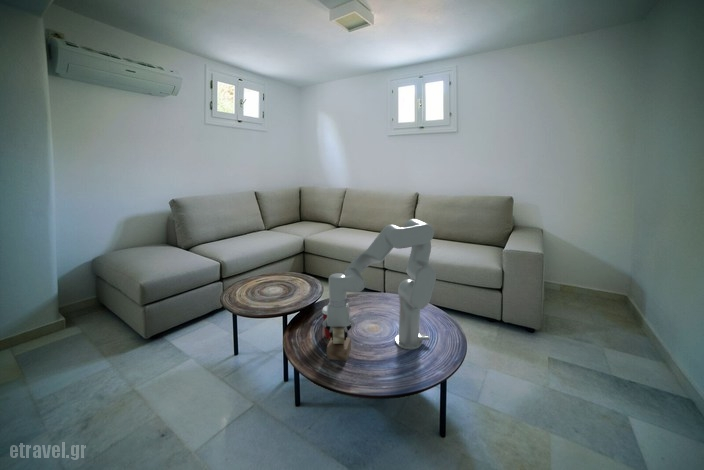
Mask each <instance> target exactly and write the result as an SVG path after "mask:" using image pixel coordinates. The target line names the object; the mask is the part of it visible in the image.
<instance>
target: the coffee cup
mask: <svg viewBox="0 0 704 470" xmlns="http://www.w3.org/2000/svg"><path fill="white" fill-rule="evenodd" d="M327 308H328V304H327V305H325V306H323V307H322V310H321V312H322V317H323V318H322V319H323V321H324V320H325V319H326V318H327ZM326 324H327V323H326ZM323 328H324V335H325V338H327V339H331V338H330V332H329V330H328V329H326V327H324V326H323Z"/></svg>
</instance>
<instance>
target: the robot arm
mask: <svg viewBox="0 0 704 470" xmlns="http://www.w3.org/2000/svg"><path fill="white" fill-rule="evenodd" d="M434 236H435V230H434V227H433V226H431V225H430V224H429V223H427V222H424V221H422V220H419V219H418V218H417V219H416V218H411V219H408V220H406V222H405V224H404V227H400V226H398V225H395V224H387V225H386V226H384V228H383V229H382V230H381V231H380V232H379V234H378V235H377V236H376V238H375V239H374V240H373V241H372V242H371V244H370V245H369V246H368V247H367V248H366V250H364V251H362V252H361V253H360V254H359V255H357V256H355V258H354V259H353V260H351V262H350V263H349V264H348V266H347V267H346V269H345V270H344V272H343V273H339V272H337V273H331V274H330V275H329V277H328V295H329V297H328V298H329V302H328V303H327V305H328V308H327V318H326V319H325V320H323V321H322V326H323V328H324V327H326V329H328V330H329V332H330V338H332V340H333V327H344V329H345V330H344V340H346V338H349V337H348V336H349V334H348V332H349V331H350V330H351V329H352V328H353V327H355V326H356V322H355V321H354V320H353V319H352V317H351V310H350V306H349V303H350V302H351V299H350V298H347V293H359V292H362V291H363V290H364V289H365V287H366V281H365V279H364V277H363V276H362V274H363V272H364V271H365V270H366V269H367V268H368V267H369V266H371V265H374V264H379V263H382V262H383V261H384V260H385V259H386V257H387V256H388V255H389V254H390V252H391V251H392V250H393V249H396V250H397V249H399V250H400V249H407V248H411V250H410V254H409V257H408V262H407V265H406V273H407V275H408V276H409V277H410V278H406V279H403V280H402V281H401V282H400V284H399V285H398V290H397V291H398V302H399V313H398V314H399V315H398V316H399V317H398V335H396V337H395V338H394V340H395V341H394V342H395V344H396V346H398V347H399V348H401V349H403V350H410V351H411V350H417V349H419V348H420V347H421V346H422V345H423V341H430V337H429V336H426V334H425V333H420V320H421V319H420V317H421V310H424V309H425V308H426V307H427V306H428V305H429V303H430V301H431V298H432V295H433V292H434V288H435V284H436V280H437V273H436V270H435V267H433V266H432V265H430V264H429V261H430V256H431V252H432V251H431V250H432V242H431V241H432V240H433V238H434ZM326 323H327V324H326Z"/></svg>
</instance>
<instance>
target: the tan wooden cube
mask: <svg viewBox="0 0 704 470" xmlns="http://www.w3.org/2000/svg"><path fill="white" fill-rule="evenodd" d="M351 340H352V339H351V337H347V338H346V340H345V342H344V344H333V340H332V338H331V339H330V340H329V341H328V344H327V346H326V359H327V360H335V361H341V362H347V361H348V360H349V359H348V358H349V355H350V353H351V351H352V350H351V349H352V341H351Z"/></svg>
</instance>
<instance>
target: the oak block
mask: <svg viewBox="0 0 704 470" xmlns="http://www.w3.org/2000/svg"><path fill="white" fill-rule="evenodd" d="M344 330H345V329H344V327H333V344H344V342H345V340H344Z"/></svg>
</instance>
